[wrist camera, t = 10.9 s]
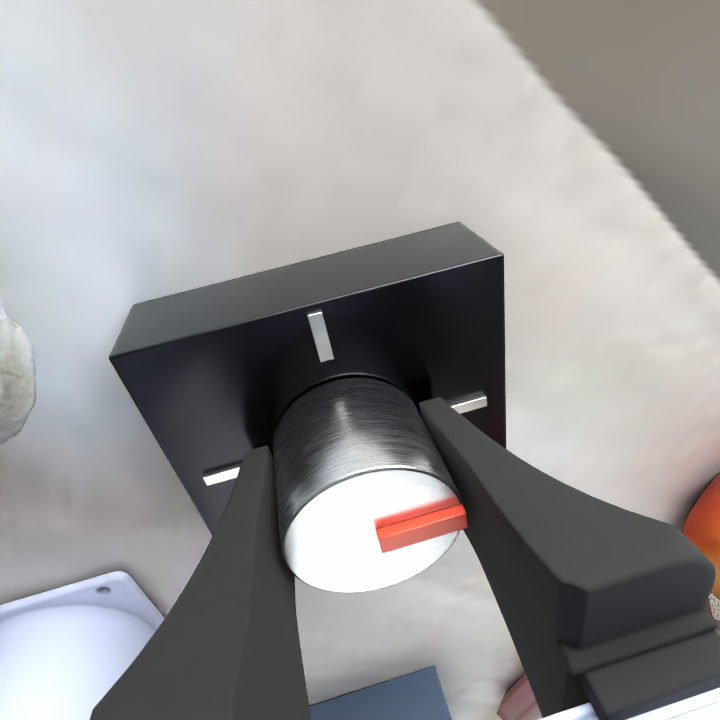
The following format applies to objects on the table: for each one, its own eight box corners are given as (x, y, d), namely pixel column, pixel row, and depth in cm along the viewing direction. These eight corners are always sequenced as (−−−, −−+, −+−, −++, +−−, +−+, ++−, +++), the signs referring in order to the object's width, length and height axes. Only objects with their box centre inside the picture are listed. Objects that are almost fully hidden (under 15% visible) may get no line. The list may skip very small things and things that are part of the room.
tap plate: (234, 504, 19) (232, 576, 16) (131, 304, 14) (105, 361, 11) (473, 435, 19) (509, 493, 17) (460, 220, 14) (508, 255, 12)
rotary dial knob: (295, 507, 15) (308, 625, 12) (252, 401, 13) (255, 514, 9) (426, 468, 15) (473, 573, 12) (410, 358, 13) (464, 453, 10)
